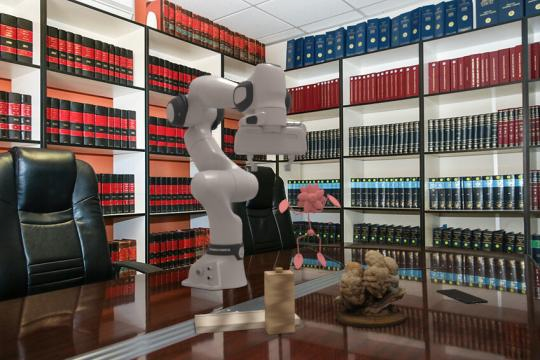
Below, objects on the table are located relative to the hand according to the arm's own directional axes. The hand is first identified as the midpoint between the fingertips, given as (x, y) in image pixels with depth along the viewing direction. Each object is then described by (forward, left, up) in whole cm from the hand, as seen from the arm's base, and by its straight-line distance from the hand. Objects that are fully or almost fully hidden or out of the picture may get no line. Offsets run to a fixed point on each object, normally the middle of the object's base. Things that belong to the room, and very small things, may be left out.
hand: (271, 171), depth 113 cm
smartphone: (+48, +29, -38) cm, 68 cm away
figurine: (-5, +56, -37) cm, 67 cm away
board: (0, -15, -37) cm, 40 cm away
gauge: (+6, -14, -37) cm, 40 cm away
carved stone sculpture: (+27, -2, -37) cm, 46 cm away
